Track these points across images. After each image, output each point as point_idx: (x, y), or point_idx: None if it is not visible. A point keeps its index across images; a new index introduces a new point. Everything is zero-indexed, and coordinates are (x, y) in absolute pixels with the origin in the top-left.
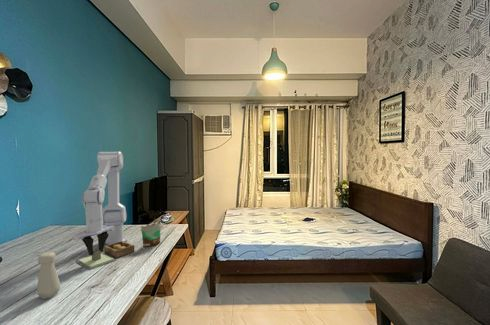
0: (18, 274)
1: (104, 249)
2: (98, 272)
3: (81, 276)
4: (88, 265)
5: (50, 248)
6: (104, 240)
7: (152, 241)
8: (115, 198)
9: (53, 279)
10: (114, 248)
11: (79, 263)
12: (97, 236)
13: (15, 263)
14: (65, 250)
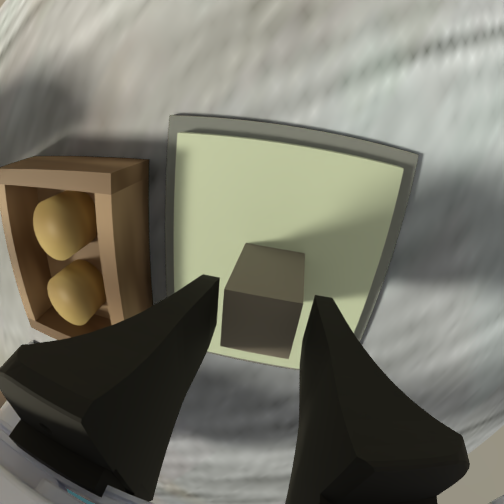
0: (485, 423)
1: None
2: (409, 38)
3: (498, 117)
4: (391, 217)
5: (271, 501)
6: (119, 340)
7: None
8: None
9: None
10: (91, 293)
11: (362, 334)
12: (158, 471)
13: None
14: (257, 477)
